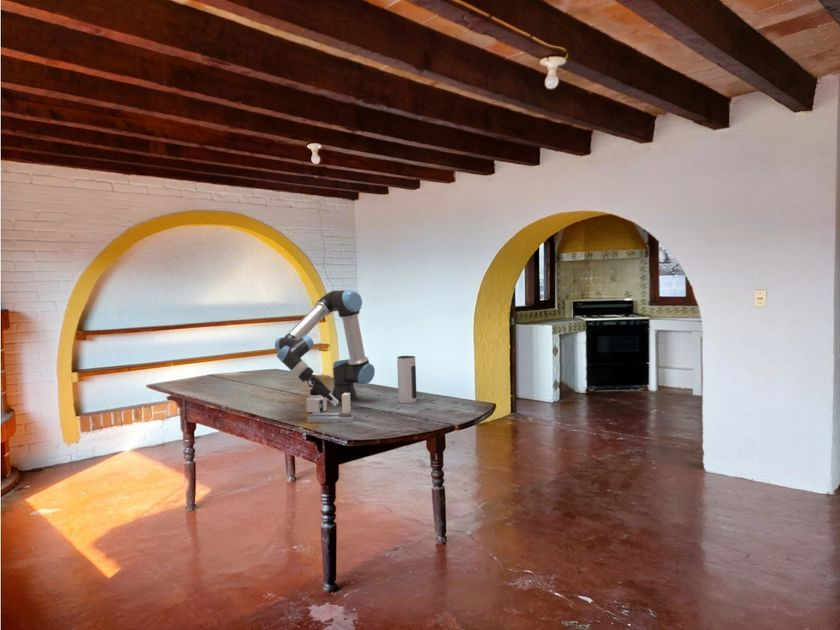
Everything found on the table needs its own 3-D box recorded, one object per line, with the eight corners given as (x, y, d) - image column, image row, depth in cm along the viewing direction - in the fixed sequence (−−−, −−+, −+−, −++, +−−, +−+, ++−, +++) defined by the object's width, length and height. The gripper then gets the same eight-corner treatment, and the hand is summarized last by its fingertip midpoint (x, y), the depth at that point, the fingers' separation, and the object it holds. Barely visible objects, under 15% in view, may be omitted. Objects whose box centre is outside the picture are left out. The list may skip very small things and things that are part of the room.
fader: (342, 413, 299) (341, 392, 298) (354, 412, 299) (353, 392, 298) (338, 416, 291) (338, 395, 290) (350, 416, 291) (350, 395, 290)
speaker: (409, 404, 325) (408, 357, 324) (394, 402, 331) (393, 356, 329) (420, 401, 334) (419, 355, 332) (405, 399, 340) (404, 354, 338)
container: (327, 411, 315) (326, 386, 314) (317, 414, 308) (316, 389, 307) (316, 409, 319) (315, 385, 318) (306, 412, 312) (305, 388, 311)
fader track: (313, 416, 302) (313, 412, 302) (355, 416, 301) (355, 412, 301) (306, 422, 291) (306, 418, 290) (350, 422, 289) (350, 418, 289)
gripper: (301, 374, 302) (334, 406, 302) (294, 379, 289) (329, 412, 289) (311, 364, 301) (344, 396, 301) (304, 368, 288) (339, 401, 288)
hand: (337, 404), depth 295 cm, fingers closed
